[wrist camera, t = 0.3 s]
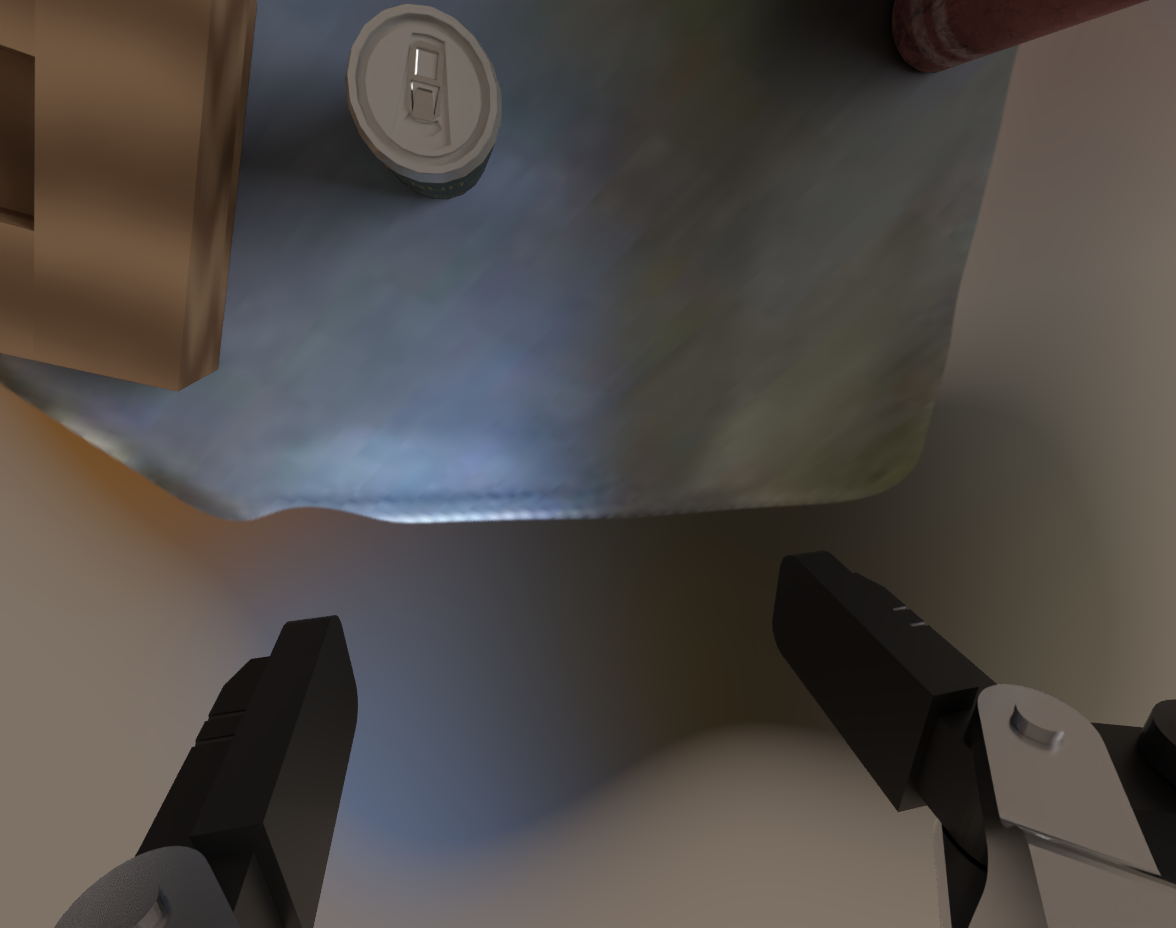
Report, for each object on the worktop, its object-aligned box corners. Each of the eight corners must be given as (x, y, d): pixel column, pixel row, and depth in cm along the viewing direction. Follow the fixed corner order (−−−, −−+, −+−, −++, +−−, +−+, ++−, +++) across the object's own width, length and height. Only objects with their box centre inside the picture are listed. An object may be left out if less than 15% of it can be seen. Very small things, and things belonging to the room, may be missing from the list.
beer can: (387, 72, 28) (342, -29, 17) (493, 100, 30) (514, 22, 19) (380, 188, 30) (337, 162, 19) (482, 209, 32) (494, 195, 21)
